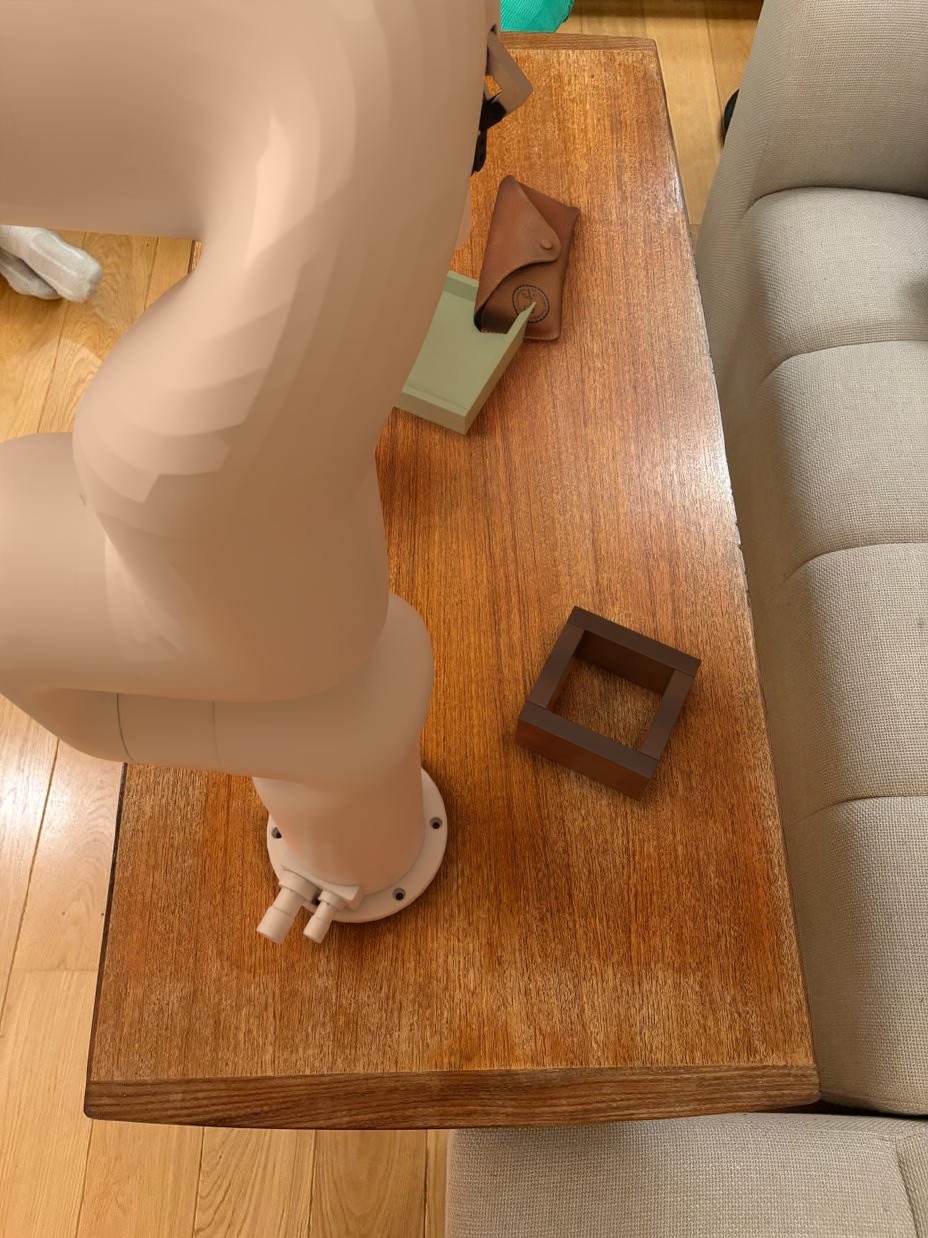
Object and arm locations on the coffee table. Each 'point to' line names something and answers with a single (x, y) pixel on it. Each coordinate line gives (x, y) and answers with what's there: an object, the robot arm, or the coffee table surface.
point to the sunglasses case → (525, 262)
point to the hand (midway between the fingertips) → (424, 156)
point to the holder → (625, 659)
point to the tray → (458, 360)
